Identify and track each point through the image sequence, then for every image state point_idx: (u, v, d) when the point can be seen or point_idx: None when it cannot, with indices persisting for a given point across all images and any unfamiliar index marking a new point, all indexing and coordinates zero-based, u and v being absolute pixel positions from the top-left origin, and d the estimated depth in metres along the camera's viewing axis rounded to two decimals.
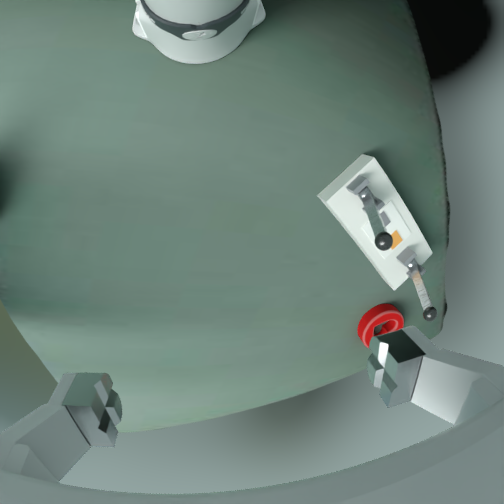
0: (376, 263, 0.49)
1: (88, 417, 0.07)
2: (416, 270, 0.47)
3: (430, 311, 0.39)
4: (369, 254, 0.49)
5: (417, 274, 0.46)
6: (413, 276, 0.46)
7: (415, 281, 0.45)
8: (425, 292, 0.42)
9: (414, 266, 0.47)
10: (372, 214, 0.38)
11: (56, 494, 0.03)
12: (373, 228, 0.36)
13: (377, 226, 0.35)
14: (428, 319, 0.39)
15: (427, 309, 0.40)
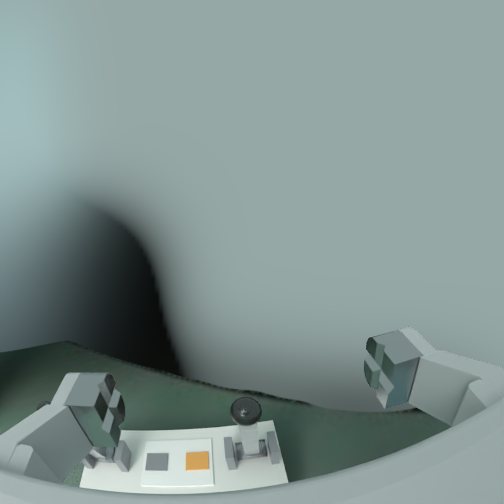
0: None
1: (91, 417, 0.07)
2: None
3: (232, 408, 0.20)
4: None
5: None
6: None
7: None
8: None
9: None
10: None
11: (56, 494, 0.03)
12: None
13: None
14: (243, 413, 0.19)
15: (231, 414, 0.20)
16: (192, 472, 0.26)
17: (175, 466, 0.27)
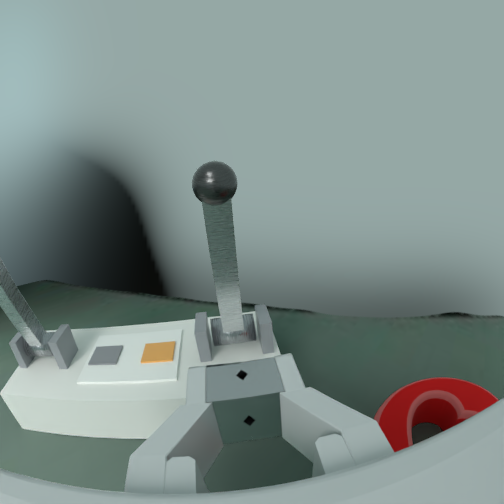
0: (169, 396, 0.18)
1: (236, 411, 0.07)
2: None
3: None
4: (134, 398, 0.17)
5: None
6: (218, 304, 0.20)
7: None
8: None
9: None
10: None
11: (56, 494, 0.03)
12: None
13: None
14: (209, 170, 0.14)
15: (193, 189, 0.15)
16: (149, 366, 0.21)
17: (129, 360, 0.21)
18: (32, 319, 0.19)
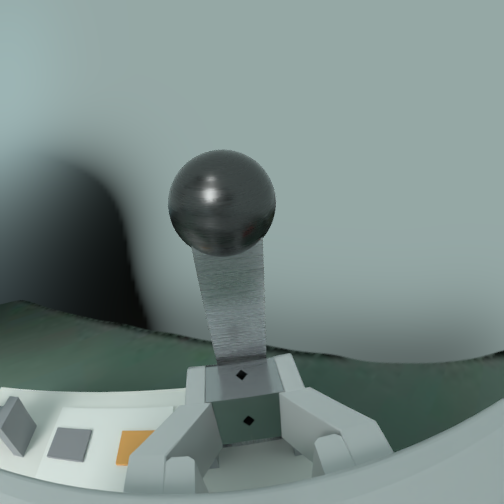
0: None
1: (235, 411, 0.07)
2: None
3: None
4: None
5: None
6: None
7: None
8: None
9: None
10: None
11: (56, 494, 0.03)
12: None
13: None
14: (208, 171, 0.05)
15: None
16: None
17: (100, 455, 0.12)
18: None
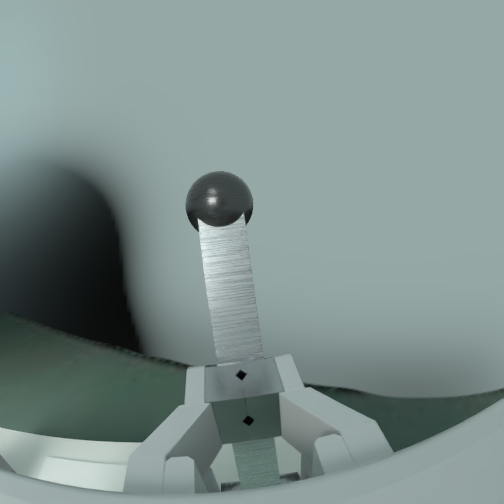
0: None
1: (235, 411, 0.07)
2: None
3: None
4: None
5: None
6: None
7: None
8: None
9: None
10: None
11: (56, 494, 0.03)
12: None
13: None
14: (210, 173, 0.10)
15: (187, 213, 0.10)
16: None
17: None
18: None
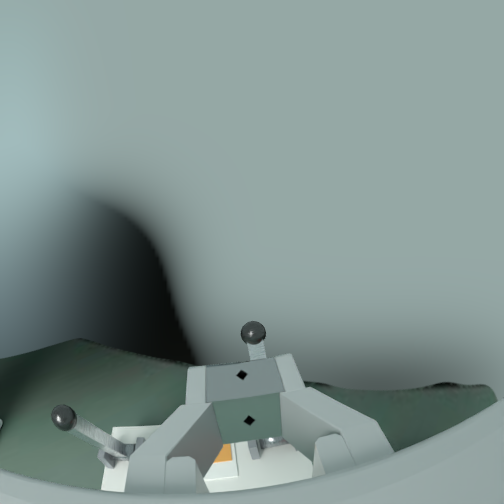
0: (236, 489, 0.23)
1: (236, 411, 0.07)
2: None
3: None
4: (211, 492, 0.23)
5: None
6: None
7: None
8: None
9: None
10: None
11: (56, 494, 0.03)
12: (72, 433, 0.20)
13: None
14: (249, 325, 0.27)
15: None
16: (215, 465, 0.26)
17: None
18: (117, 444, 0.25)
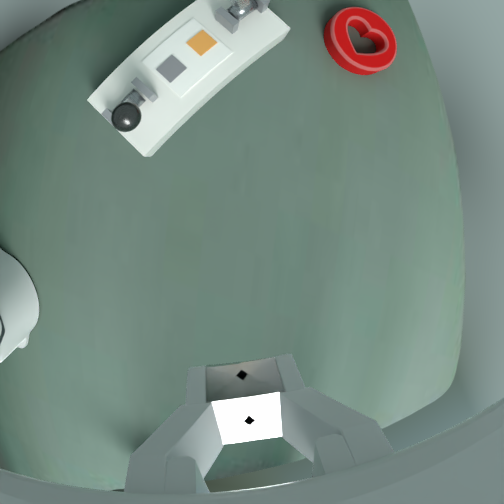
0: (239, 63, 0.30)
1: (236, 411, 0.07)
2: None
3: None
4: (223, 77, 0.30)
5: None
6: None
7: None
8: None
9: (232, 3, 0.25)
10: None
11: (56, 494, 0.03)
12: None
13: None
14: None
15: None
16: (206, 54, 0.29)
17: (188, 59, 0.29)
18: (132, 100, 0.26)
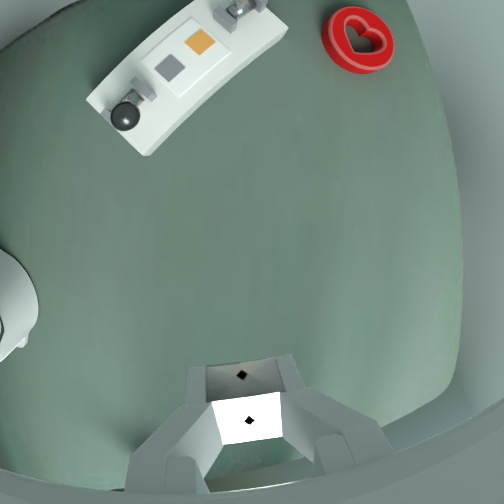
0: (238, 63, 0.30)
1: (236, 411, 0.07)
2: None
3: None
4: (222, 76, 0.30)
5: None
6: None
7: None
8: None
9: (230, 3, 0.25)
10: None
11: (56, 494, 0.03)
12: None
13: None
14: None
15: None
16: (205, 54, 0.29)
17: (186, 58, 0.29)
18: None
